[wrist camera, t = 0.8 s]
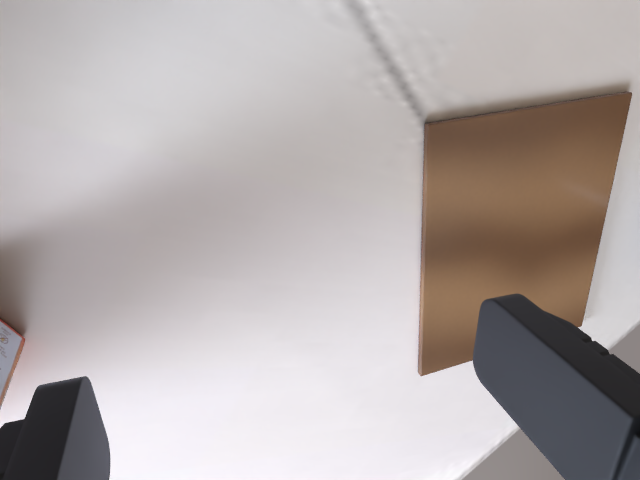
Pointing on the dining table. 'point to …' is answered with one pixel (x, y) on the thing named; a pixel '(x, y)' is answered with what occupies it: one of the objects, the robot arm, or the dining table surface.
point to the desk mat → (513, 215)
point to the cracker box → (8, 355)
